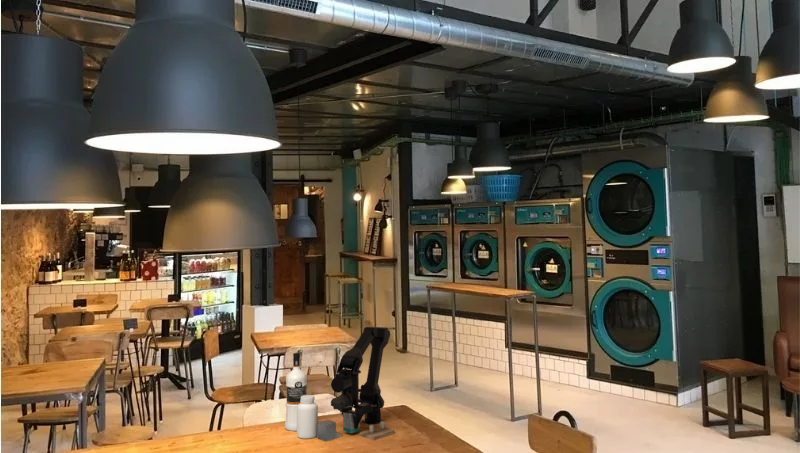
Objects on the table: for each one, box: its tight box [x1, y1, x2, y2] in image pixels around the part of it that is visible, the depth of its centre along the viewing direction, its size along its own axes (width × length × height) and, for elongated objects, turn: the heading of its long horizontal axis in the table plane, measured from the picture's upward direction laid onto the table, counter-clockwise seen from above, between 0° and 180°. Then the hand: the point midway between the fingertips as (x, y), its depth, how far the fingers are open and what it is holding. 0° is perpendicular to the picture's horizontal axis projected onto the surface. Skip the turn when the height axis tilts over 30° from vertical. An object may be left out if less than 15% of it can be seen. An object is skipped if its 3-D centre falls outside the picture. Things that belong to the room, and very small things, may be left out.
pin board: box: [359, 420, 395, 441], centre depth 218 cm, size 8×11×4 cm
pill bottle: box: [296, 394, 319, 439], centre depth 218 cm, size 8×8×15 cm
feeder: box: [316, 419, 343, 442], centre depth 215 cm, size 5×8×6 cm, turn 137°
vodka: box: [284, 352, 308, 432], centre depth 228 cm, size 9×9×30 cm
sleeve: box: [342, 409, 361, 434], centre depth 219 cm, size 5×5×7 cm
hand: (351, 427), depth 219 cm, fingers closed on sleeve, 5 cm apart
